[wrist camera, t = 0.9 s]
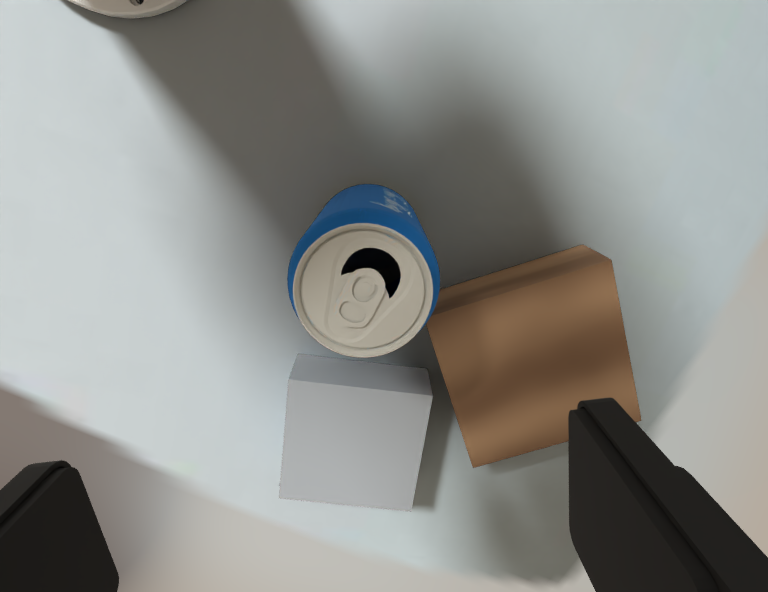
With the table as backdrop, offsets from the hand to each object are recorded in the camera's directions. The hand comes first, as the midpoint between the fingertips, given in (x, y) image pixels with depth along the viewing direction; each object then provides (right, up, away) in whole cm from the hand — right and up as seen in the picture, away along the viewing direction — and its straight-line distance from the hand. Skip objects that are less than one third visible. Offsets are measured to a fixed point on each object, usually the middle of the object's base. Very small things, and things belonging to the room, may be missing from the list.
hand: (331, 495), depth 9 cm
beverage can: (0, +8, +22) cm, 23 cm away
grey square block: (-1, -5, +26) cm, 26 cm away
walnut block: (+10, 0, +24) cm, 26 cm away
